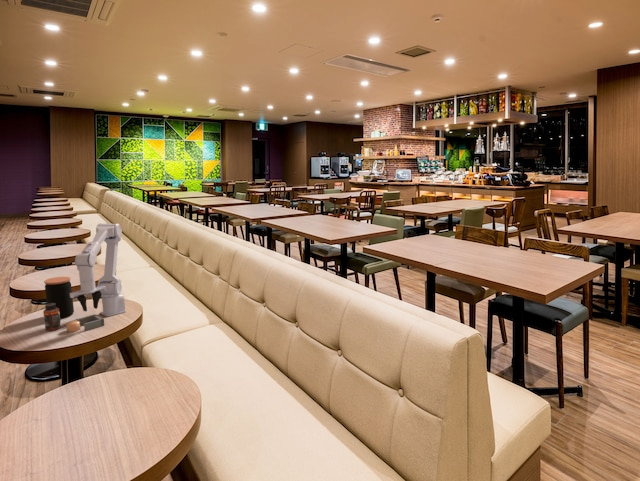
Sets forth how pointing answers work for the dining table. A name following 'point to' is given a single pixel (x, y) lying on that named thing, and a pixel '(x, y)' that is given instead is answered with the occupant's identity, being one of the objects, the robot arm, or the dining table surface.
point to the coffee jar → (60, 295)
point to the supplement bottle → (52, 317)
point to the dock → (91, 322)
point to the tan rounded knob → (73, 326)
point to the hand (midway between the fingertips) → (90, 309)
